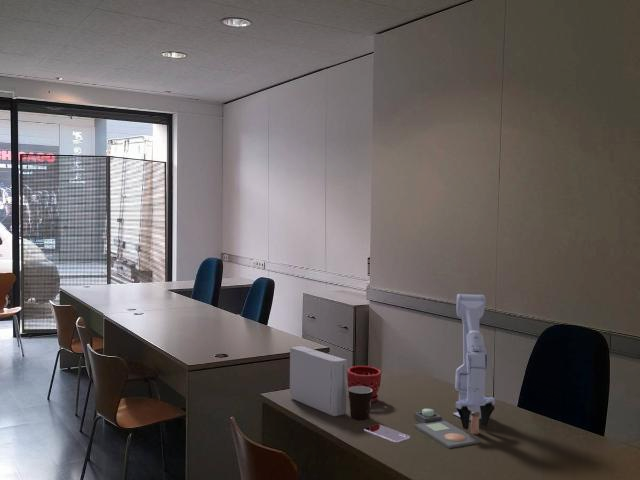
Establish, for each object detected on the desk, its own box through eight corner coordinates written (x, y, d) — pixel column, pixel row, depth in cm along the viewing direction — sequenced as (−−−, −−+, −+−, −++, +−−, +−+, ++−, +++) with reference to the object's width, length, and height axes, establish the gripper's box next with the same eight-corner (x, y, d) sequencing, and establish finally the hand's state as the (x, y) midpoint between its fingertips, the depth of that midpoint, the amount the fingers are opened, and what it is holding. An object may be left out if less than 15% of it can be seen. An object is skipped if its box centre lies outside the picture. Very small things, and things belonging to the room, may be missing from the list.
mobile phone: (377, 422, 212) (411, 435, 201) (377, 425, 212) (411, 438, 201) (362, 427, 207) (396, 441, 196) (362, 430, 207) (396, 444, 196)
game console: (333, 417, 219) (334, 362, 218) (289, 398, 240) (289, 347, 239) (346, 414, 223) (347, 359, 222) (300, 395, 244) (301, 345, 243)
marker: (475, 430, 208) (476, 410, 207) (480, 433, 205) (481, 413, 205) (468, 431, 207) (469, 411, 206) (473, 434, 204) (474, 413, 204)
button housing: (430, 415, 222) (430, 410, 222) (441, 422, 216) (441, 416, 215) (413, 418, 219) (414, 412, 219) (424, 424, 213) (424, 418, 213)
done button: (429, 414, 220) (429, 408, 220) (435, 418, 216) (436, 411, 216) (419, 416, 218) (420, 409, 218) (426, 419, 215) (426, 412, 215)
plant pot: (341, 402, 235) (342, 372, 235) (353, 393, 247) (353, 364, 247) (374, 407, 230) (375, 376, 230) (384, 397, 242) (385, 367, 242)
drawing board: (443, 422, 215) (443, 419, 215) (480, 442, 197) (480, 440, 197) (414, 426, 211) (414, 424, 211) (448, 448, 192) (448, 445, 192)
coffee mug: (364, 423, 213) (365, 394, 213) (343, 418, 218) (343, 390, 217) (379, 414, 223) (380, 386, 223) (358, 409, 228) (359, 382, 227)
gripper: (465, 392, 199) (464, 434, 199) (501, 388, 204) (500, 428, 205) (452, 386, 205) (451, 426, 206) (487, 382, 211) (486, 421, 211)
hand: (474, 427), depth 206 cm, fingers open, 7 cm apart
